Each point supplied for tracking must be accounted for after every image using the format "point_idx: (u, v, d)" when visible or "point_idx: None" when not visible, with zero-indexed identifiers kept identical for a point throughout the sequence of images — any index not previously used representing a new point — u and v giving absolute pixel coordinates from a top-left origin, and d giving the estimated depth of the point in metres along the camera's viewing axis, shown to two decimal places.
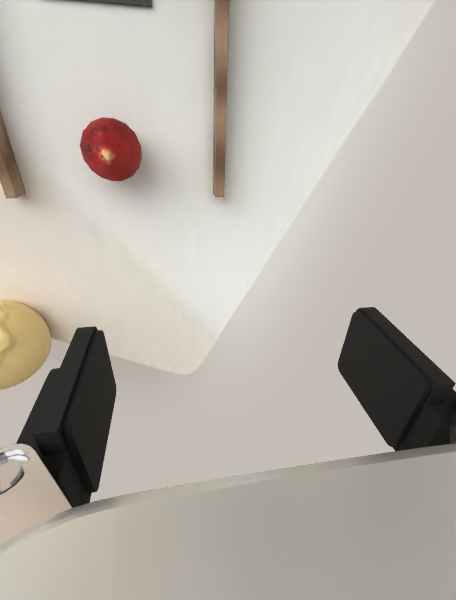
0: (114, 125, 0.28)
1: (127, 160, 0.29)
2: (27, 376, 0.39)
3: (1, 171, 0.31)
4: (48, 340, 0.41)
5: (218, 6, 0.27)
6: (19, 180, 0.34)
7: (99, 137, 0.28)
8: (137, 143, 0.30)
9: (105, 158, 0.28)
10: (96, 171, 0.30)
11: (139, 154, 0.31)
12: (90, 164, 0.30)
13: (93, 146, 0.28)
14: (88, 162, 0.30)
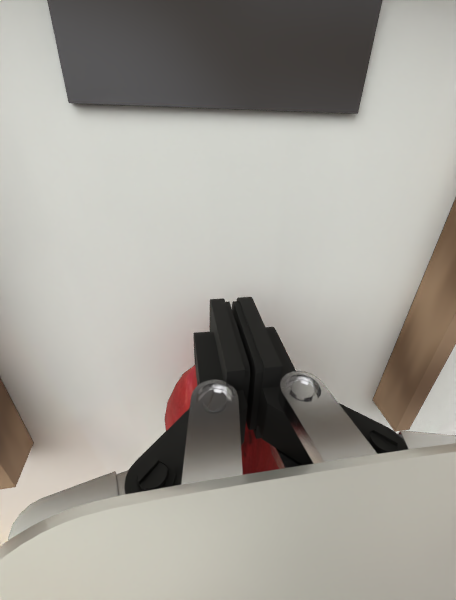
0: None
1: None
2: None
3: None
4: None
5: None
6: (21, 435, 0.17)
7: None
8: None
9: None
10: None
11: None
12: None
13: None
14: None
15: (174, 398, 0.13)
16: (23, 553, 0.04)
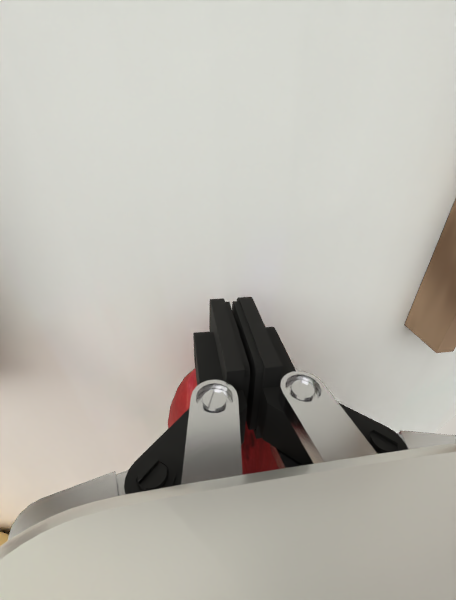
0: None
1: None
2: None
3: None
4: None
5: None
6: None
7: None
8: None
9: None
10: None
11: None
12: None
13: None
14: None
15: (176, 402, 0.13)
16: (23, 553, 0.04)
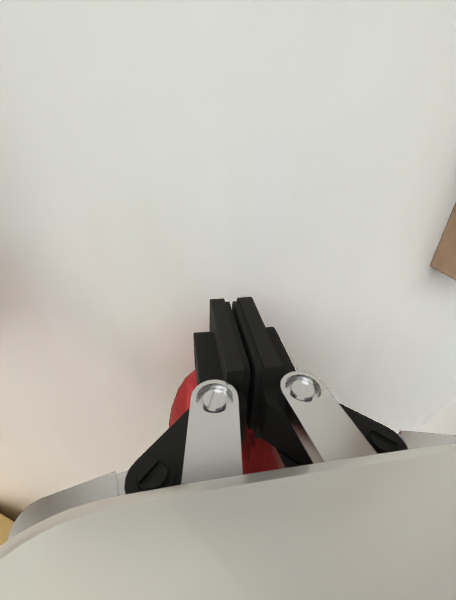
0: None
1: None
2: None
3: None
4: None
5: None
6: None
7: None
8: None
9: None
10: None
11: None
12: None
13: None
14: None
15: (176, 403, 0.13)
16: (23, 553, 0.04)
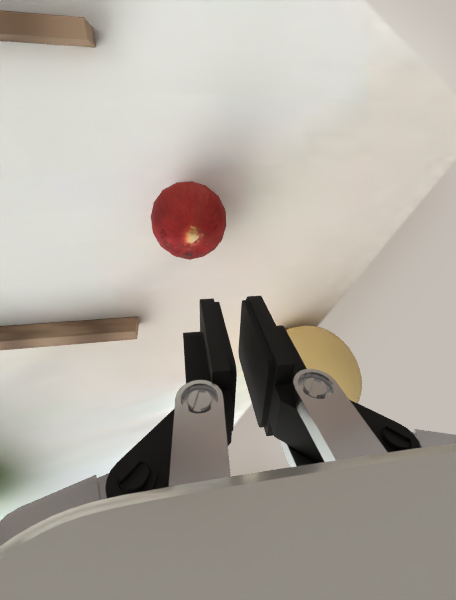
0: (157, 220, 0.21)
1: (197, 207, 0.21)
2: (353, 371, 0.30)
3: (107, 337, 0.29)
4: (316, 333, 0.32)
5: None
6: (122, 320, 0.31)
7: (172, 241, 0.21)
8: (174, 188, 0.21)
9: (196, 239, 0.20)
10: (215, 245, 0.23)
11: (188, 186, 0.22)
12: (207, 252, 0.23)
13: (185, 250, 0.22)
14: (205, 253, 0.23)
15: None
16: (23, 553, 0.04)
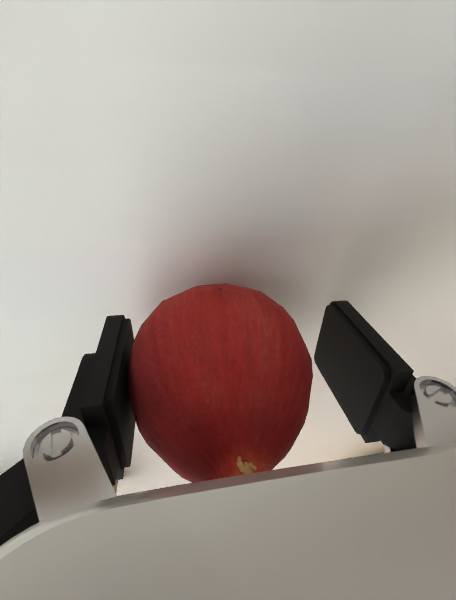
0: (139, 407, 0.08)
1: (255, 392, 0.07)
2: None
3: None
4: None
5: None
6: None
7: (181, 473, 0.08)
8: (188, 322, 0.08)
9: None
10: None
11: (226, 314, 0.08)
12: None
13: None
14: None
15: None
16: (23, 553, 0.04)
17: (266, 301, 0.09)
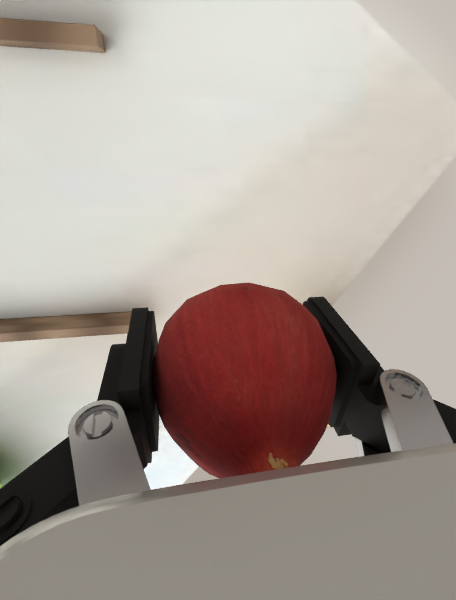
0: (168, 404, 0.08)
1: (285, 390, 0.07)
2: None
3: (113, 330, 0.31)
4: None
5: None
6: (127, 314, 0.32)
7: (209, 469, 0.08)
8: (216, 320, 0.08)
9: None
10: None
11: (253, 313, 0.08)
12: None
13: None
14: None
15: None
16: (23, 553, 0.04)
17: (291, 300, 0.09)
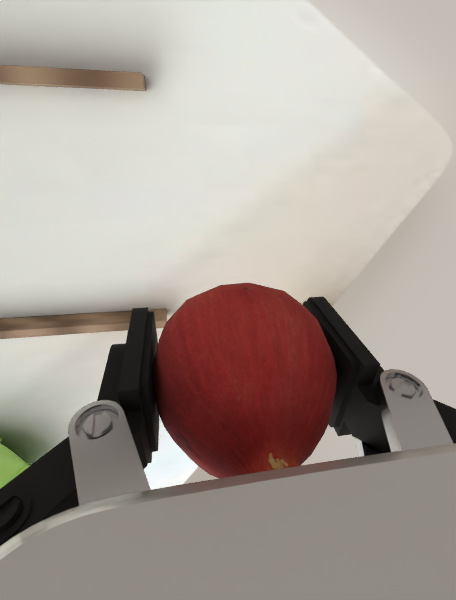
0: (168, 404, 0.08)
1: (285, 390, 0.07)
2: None
3: None
4: None
5: None
6: None
7: (209, 469, 0.08)
8: (216, 320, 0.08)
9: None
10: None
11: (253, 313, 0.08)
12: None
13: None
14: None
15: None
16: (23, 553, 0.04)
17: (291, 300, 0.09)
